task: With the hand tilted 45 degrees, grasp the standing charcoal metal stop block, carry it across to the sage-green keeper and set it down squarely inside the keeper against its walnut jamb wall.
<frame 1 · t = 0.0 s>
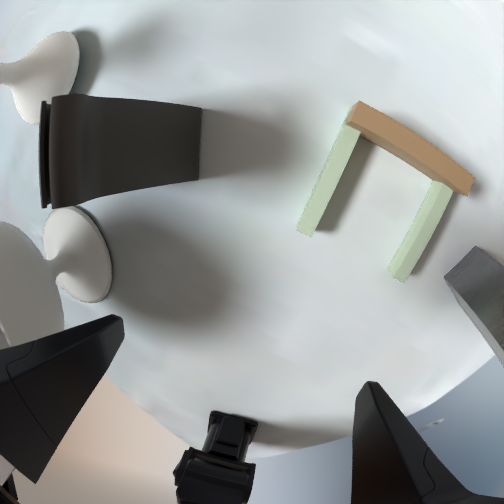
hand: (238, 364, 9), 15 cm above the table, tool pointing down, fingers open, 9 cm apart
phone stand: (154, 144, 22), on the table
stop block: (468, 277, 20), on the table
flower in vase: (60, 75, 20), on the table
keeper: (376, 201, 20), on the table
chalice: (76, 254, 27), on the table
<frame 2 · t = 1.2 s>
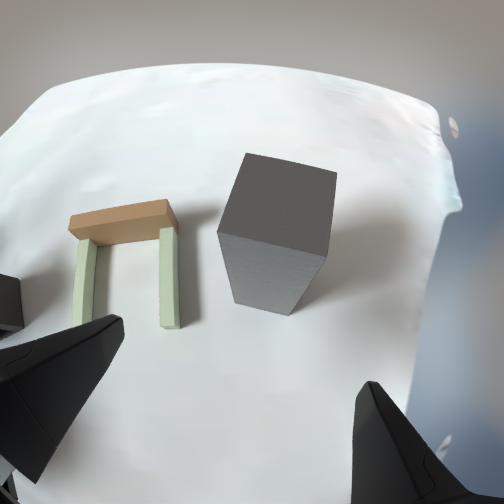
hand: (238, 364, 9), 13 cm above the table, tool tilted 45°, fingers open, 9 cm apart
phone stand: (2, 315, 21), on the table
stop block: (267, 284, 23), on the table
keeper: (127, 282, 23), on the table
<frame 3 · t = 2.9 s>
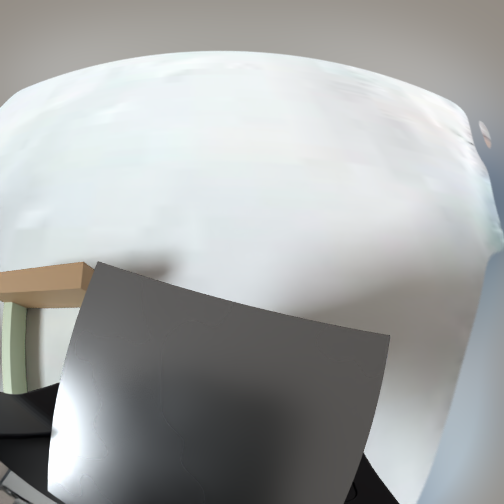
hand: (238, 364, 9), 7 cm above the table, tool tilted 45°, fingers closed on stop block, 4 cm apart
stop block: (238, 387, 14), on the table, touching gripper
keeper: (57, 362, 14), on the table
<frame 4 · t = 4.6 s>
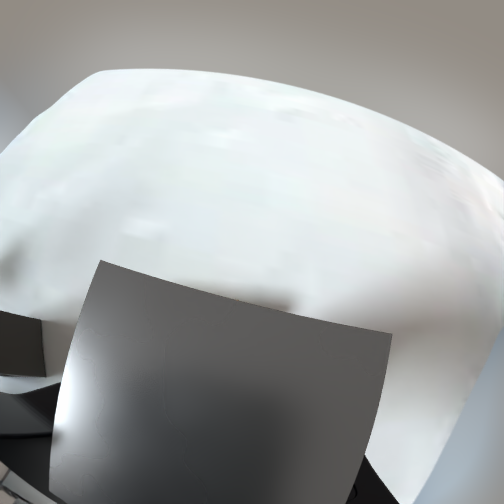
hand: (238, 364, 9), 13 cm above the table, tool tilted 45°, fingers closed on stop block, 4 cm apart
phone stand: (19, 350, 20), on the table
stop block: (238, 386, 14), point 6 cm above the table, touching gripper
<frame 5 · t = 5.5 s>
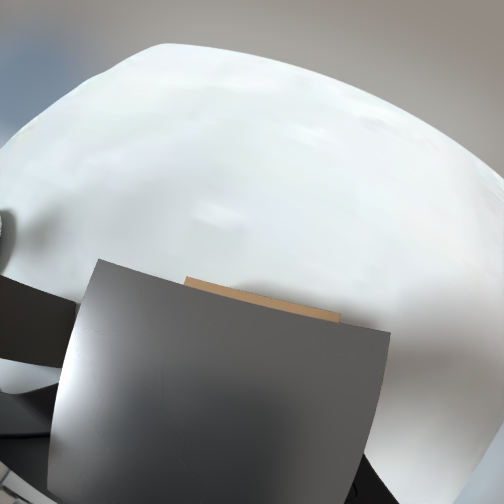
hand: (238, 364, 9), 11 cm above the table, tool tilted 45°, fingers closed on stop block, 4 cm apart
phone stand: (42, 332, 19), on the table
stop block: (238, 386, 14), point 4 cm above the table, touching gripper
keeper: (242, 380, 18), on the table
when the fingers open (8 cm above the table, at t = 6.3 s): stop block stays where it is, on the table.
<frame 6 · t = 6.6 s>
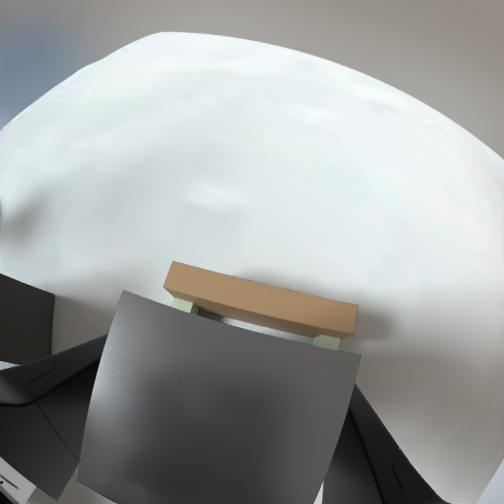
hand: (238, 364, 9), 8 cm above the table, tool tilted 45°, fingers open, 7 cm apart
phone stand: (20, 328, 16), on the table
stop block: (239, 385, 15), on the table
keeper: (239, 385, 15), on the table
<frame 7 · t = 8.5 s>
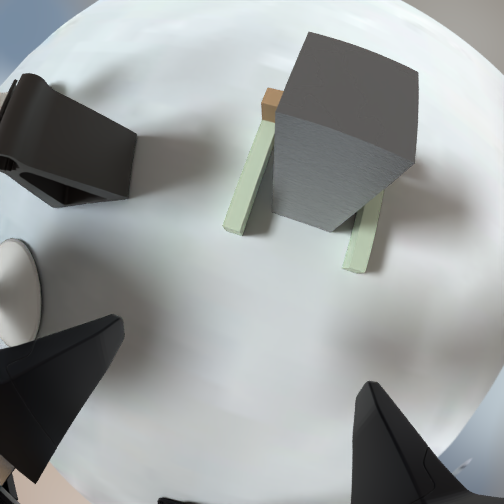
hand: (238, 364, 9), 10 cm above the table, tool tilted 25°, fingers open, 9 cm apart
phone stand: (93, 173, 21), on the table
stop block: (310, 194, 20), on the table
keeper: (310, 194, 20), on the table
chalice: (13, 294, 21), on the table
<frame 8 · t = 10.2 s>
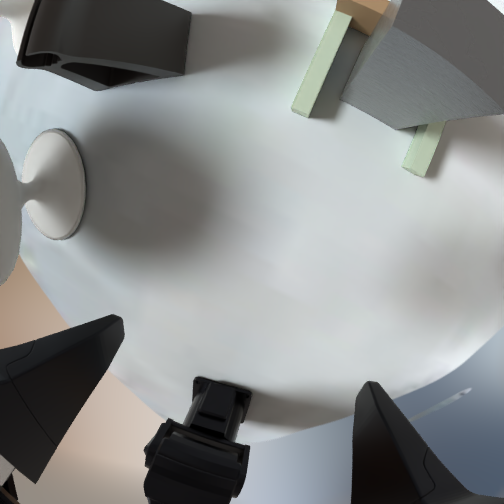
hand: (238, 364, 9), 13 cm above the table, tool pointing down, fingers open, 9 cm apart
phone stand: (141, 52, 17), on the table
stop block: (379, 89, 15), on the table
flower in vase: (59, 15, 16), on the table
keeper: (379, 89, 15), on the table
chalice: (52, 184, 23), on the table
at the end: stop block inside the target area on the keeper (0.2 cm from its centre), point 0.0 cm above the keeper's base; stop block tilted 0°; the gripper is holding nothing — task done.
